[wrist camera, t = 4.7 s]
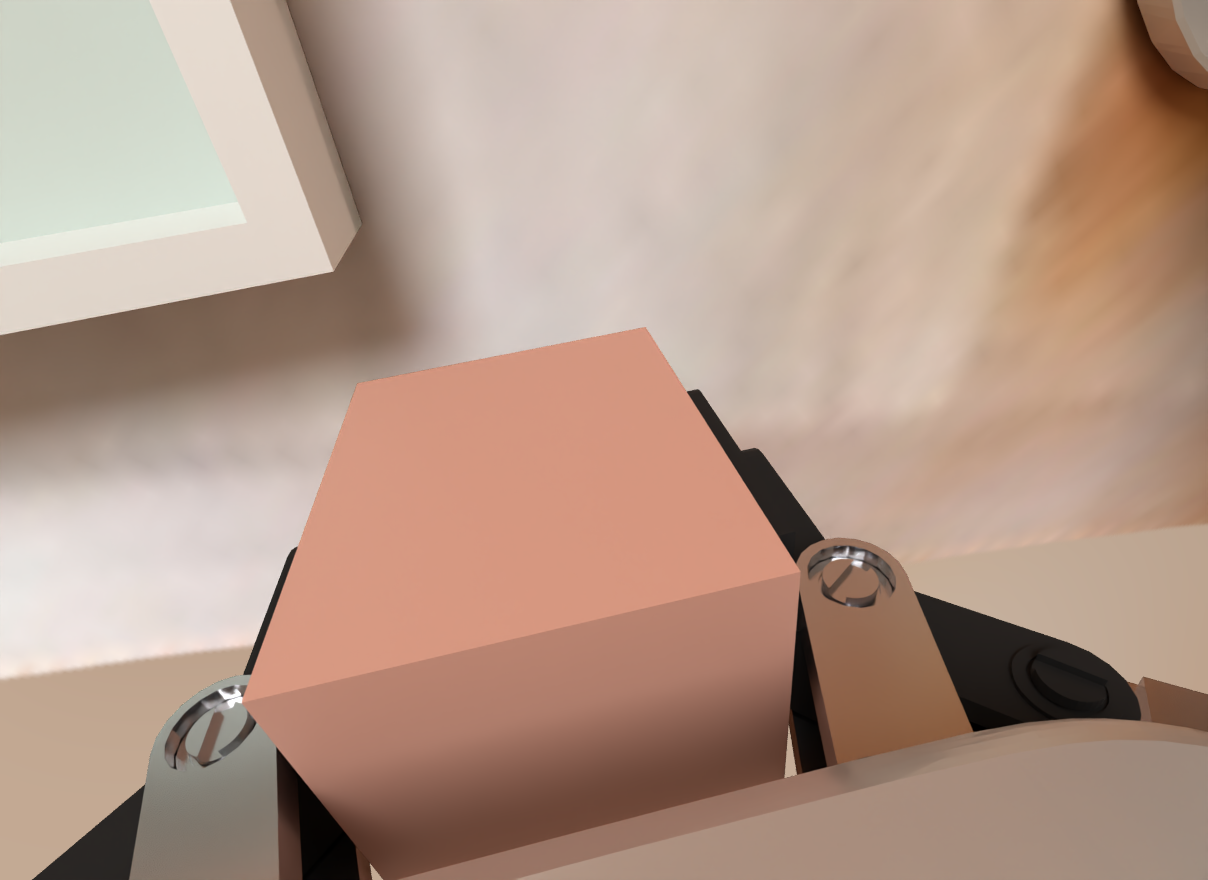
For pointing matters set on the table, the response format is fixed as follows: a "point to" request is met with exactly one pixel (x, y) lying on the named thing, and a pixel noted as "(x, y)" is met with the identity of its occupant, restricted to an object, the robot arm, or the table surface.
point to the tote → (159, 156)
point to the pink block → (527, 609)
